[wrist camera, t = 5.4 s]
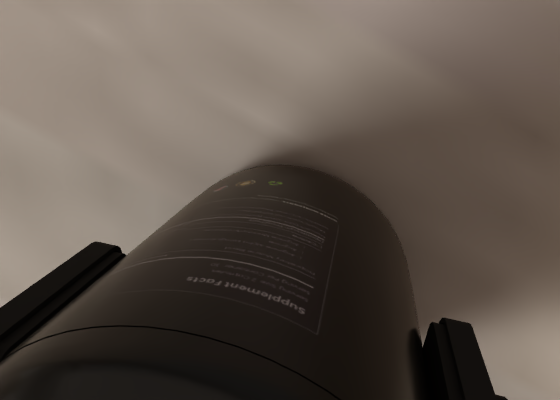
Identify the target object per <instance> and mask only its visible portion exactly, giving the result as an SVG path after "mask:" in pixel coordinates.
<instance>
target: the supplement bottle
mask: <svg viewBox="0 0 560 400" xmlns="http://www.w3.org/2000/svg"><path fill="white" fill-rule="evenodd" d="M0 400H432V399H431V394H430V388H429V382H428V376H427V370H426V365H425V359H424V353H423V347H422V342H421V336H420V330H419V324H418V318H417V313H416V307H415V301H414V295H413V290H412V284H411V280H410V275H409V270H408V266H407V262H406V257H405V255H404V252H403V249H402V246H401V243H400V241H399V239H398V237H397V235H396V233H395V231H394V229H393V228H392V226H391V224H390V223H389V221H388V220H387V219H386V217H385V216H384V215H383V213H382V212H381V211H380V210H379V209H378V208H377V207H376V206H375V205H374V203H373V202H371V201H370V200H369V199H368V198H367V197H366V196H365V195H363V194H362V193H361V192H359V191H358V190H357V189H355V188H354V187H352V186H351V185H349V184H347V183H346V182H344V181H342V180H340V179H338V178H336V177H334V176H331V175H329V174H326V173H323V172H321V171H318V170H314V169H310V168H306V167H299V166H292V165H267V166H260V167H255V168H250V169H246V170H243V171H240V172H238V173H235V174H232V175H230V176H228V177H226V178H224V179H222V180H220V181H219V182H217V183H216V184H214V185H212V186H211V187H210V188H208V189H207V190H206V191H204V192H203V193H202V194H200V195H199V196H198V197H196V198H195V199H194V200H193V201H191V202H190V203H189V204H188V205H186V206H185V207H184V208H183V209H182V210H180V211H179V212H178V213H177V214H176V215H174V216H173V217H172V218H171V219H170V220H168V221H167V222H166V223H165V224H164V225H162V226H161V227H160V228H159V229H158V230H156V231H155V232H154V233H153V234H152V235H150V236H149V237H148V238H147V239H146V240H144V241H143V242H142V243H141V244H140V245H138V246H137V247H136V248H135V249H134V250H132V251H131V252H130V253H129V254H128V255H126V256H125V257H124V258H123V259H122V260H120V261H119V262H118V263H117V264H116V265H114V266H113V267H112V268H111V269H110V270H108V271H107V272H106V273H105V274H104V275H102V276H101V277H100V278H99V279H98V280H96V281H95V282H94V283H93V284H92V285H90V286H89V287H88V288H87V289H86V290H84V291H83V292H82V293H81V294H80V295H78V296H77V297H76V298H75V299H74V300H72V301H71V302H70V303H69V304H68V305H66V306H65V307H64V308H63V309H62V310H60V311H59V312H58V313H57V314H56V315H54V316H53V317H52V318H51V319H50V320H48V321H47V322H46V323H45V324H44V325H42V326H41V327H40V328H39V329H38V330H36V331H35V332H34V333H33V334H32V335H30V336H29V337H28V338H27V339H26V340H24V341H23V342H22V343H21V344H20V345H18V346H17V347H16V348H15V349H14V350H12V351H11V352H10V353H9V354H8V355H6V356H5V357H4V358H3V359H2V360H1V361H0Z"/></svg>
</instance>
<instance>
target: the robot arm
mask: <svg viewBox="0 0 560 400" xmlns="http://www.w3.org/2000/svg"><path fill="white" fill-rule="evenodd" d="M125 256H126V255H125V254H123V253H122V251H121V248H120V247H119V246H115V245H110V244H106V243H101V242H93V243H91V244H90V245H88V246H87V247H86V248H84V249H83V250H81V251H80V252H78V253H77V254H76V255H74V256H73V257H71V258H70V259H69V260H67V261H66V262H64V263H63V264H62V265H60V266H59V267H57V268H56V269H54V270H53V271H52V272H50V273H49V274H47V275H46V276H45V277H43V278H42V279H40V280H39V281H38V282H36V283H35V284H33V285H32V286H30V287H29V288H28V289H26V290H25V291H23V292H22V293H21V294H19V295H18V296H16V297H15V298H13V299H12V300H11V301H9V302H8V303H6V304H5V305H4V306H2V307H1V308H0V361H1V360H2V359H3V358H4V357H5V356H6V355H8V354H9V353H10V352H11V351H12V350H14V349H15V348H16V347H17V346H18V345H20V344H21V343H22V342H23V341H24V340H26V339H27V338H28V337H29V336H30V335H32V334H33V333H34V332H35V331H36V330H38V329H39V328H40V327H41V326H42V325H44V324H45V323H46V322H47V321H48V320H50V319H51V318H52V317H53V316H54V315H56V314H57V313H58V312H59V311H60V310H62V309H63V308H64V307H65V306H66V305H68V304H69V303H70V302H71V301H72V300H74V299H75V298H76V297H77V296H78V295H80V294H81V293H82V292H83V291H84V290H86V289H87V288H88V287H89V286H90V285H92V284H93V283H94V282H95V281H96V280H98V279H99V278H100V277H101V276H102V275H104V274H105V273H106V272H107V271H108V270H110V269H111V268H112V267H113V266H114V265H116V264H117V263H118V262H119V261H120V260H122V259H123V258H124V257H125ZM423 353H424V359H425V365H426V370H427V376H428V382H429V388H430V394H431V399H432V400H508V399H506V398H505V397H503V396H499V395H495V393H494V390H493V387H492V384H491V381H490V378H489V375H488V372H487V369H486V366H485V363H484V360H483V357H482V354H481V351H480V349H479V346H478V343H477V340H476V337H475V334H474V331H473V328H472V326H471V324H469V323H466V322H461V321H457V320H452V319H448V318H442V319H441V320H440V322H439V323H434V322H431V324H430V326H429V328H428V332H427V335H426V338H425V342H424V345H423Z"/></svg>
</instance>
